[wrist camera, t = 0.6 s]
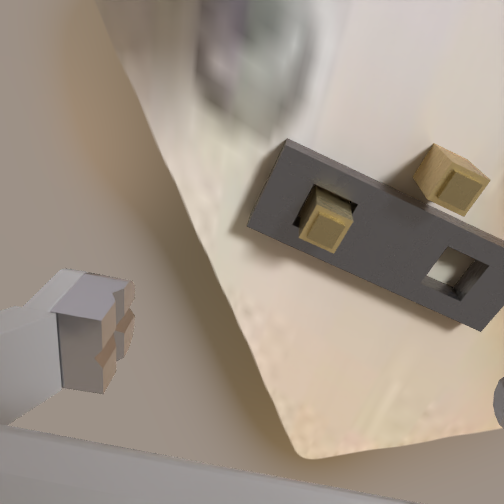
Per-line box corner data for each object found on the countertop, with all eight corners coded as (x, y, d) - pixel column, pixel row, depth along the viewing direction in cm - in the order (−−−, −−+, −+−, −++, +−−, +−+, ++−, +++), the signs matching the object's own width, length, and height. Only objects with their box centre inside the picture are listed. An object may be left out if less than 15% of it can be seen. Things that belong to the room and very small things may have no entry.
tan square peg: (316, 181, 51) (317, 206, 44) (348, 197, 51) (353, 223, 45) (300, 212, 53) (298, 240, 46) (331, 226, 53) (334, 256, 46)
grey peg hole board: (287, 138, 49) (285, 145, 47) (527, 252, 52) (539, 264, 49) (250, 216, 54) (246, 226, 51) (472, 317, 56) (480, 331, 54)
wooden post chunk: (433, 143, 48) (454, 163, 41) (467, 159, 48) (492, 182, 41) (412, 176, 50) (428, 201, 43) (444, 192, 50) (465, 219, 43)
